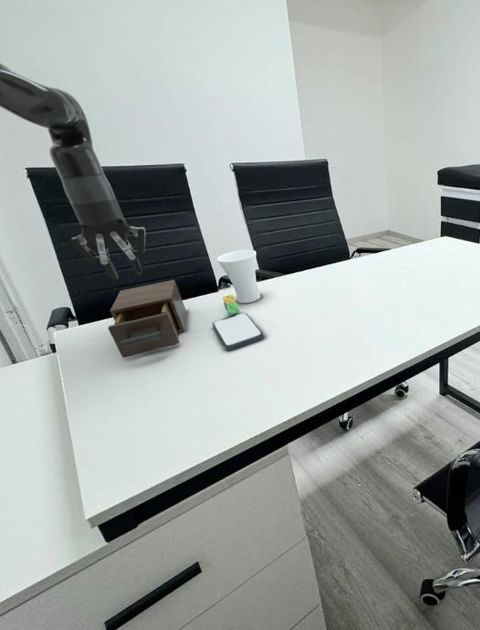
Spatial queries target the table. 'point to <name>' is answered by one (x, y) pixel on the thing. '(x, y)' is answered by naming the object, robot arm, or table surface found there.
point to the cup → (241, 273)
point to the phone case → (237, 331)
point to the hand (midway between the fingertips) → (127, 276)
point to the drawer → (145, 329)
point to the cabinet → (152, 300)
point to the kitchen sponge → (231, 305)
